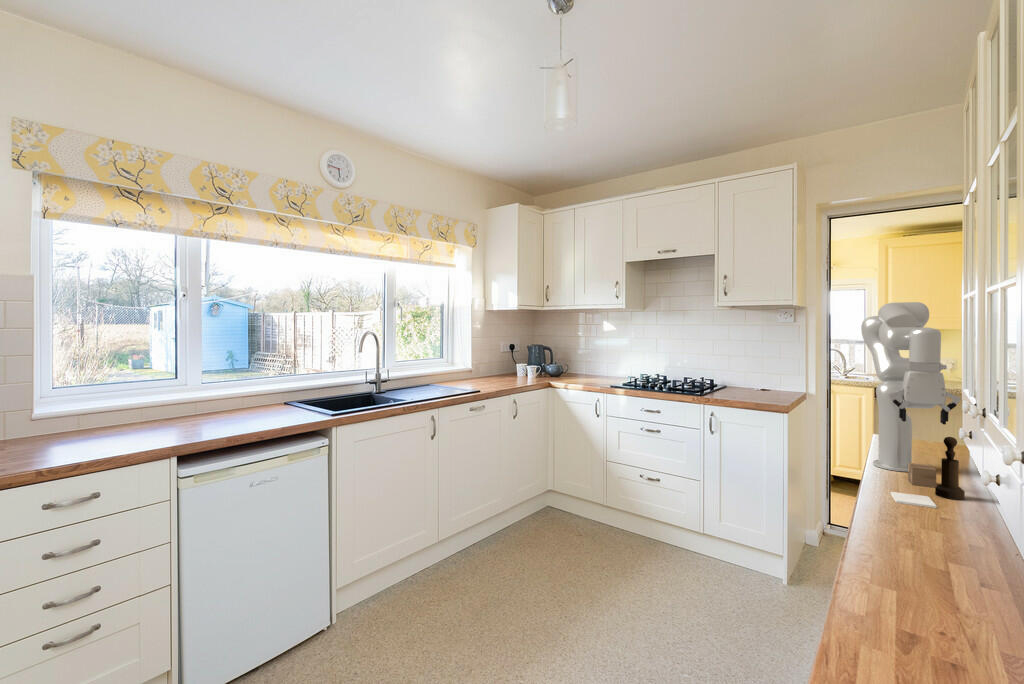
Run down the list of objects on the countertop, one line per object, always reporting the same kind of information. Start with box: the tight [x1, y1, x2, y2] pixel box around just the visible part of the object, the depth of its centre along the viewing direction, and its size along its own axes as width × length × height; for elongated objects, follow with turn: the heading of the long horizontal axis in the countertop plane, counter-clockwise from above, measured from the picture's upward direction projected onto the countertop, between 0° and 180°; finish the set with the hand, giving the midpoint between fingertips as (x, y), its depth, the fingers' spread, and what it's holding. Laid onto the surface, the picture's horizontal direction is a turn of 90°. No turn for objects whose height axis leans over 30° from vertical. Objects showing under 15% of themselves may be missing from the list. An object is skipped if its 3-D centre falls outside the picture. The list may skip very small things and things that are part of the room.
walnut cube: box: [907, 462, 937, 489], centre depth 158 cm, size 6×6×6 cm
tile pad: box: [890, 491, 938, 509], centre depth 143 cm, size 9×9×1 cm
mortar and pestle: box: [934, 436, 966, 501], centre depth 146 cm, size 7×6×18 cm
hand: (922, 422), depth 152 cm, fingers open, 9 cm apart
